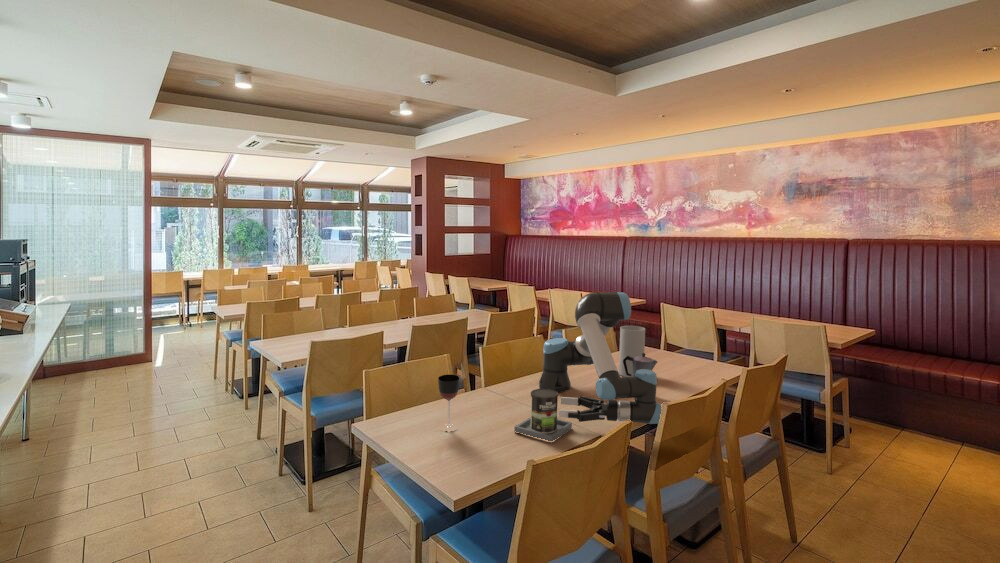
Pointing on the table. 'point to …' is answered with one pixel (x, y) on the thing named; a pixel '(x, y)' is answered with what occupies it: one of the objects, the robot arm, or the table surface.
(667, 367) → the table surface
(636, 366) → the moka pot
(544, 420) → the coffee can
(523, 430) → the slate tray
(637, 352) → the cylinder vase
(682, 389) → the table surface
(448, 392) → the wineglass
